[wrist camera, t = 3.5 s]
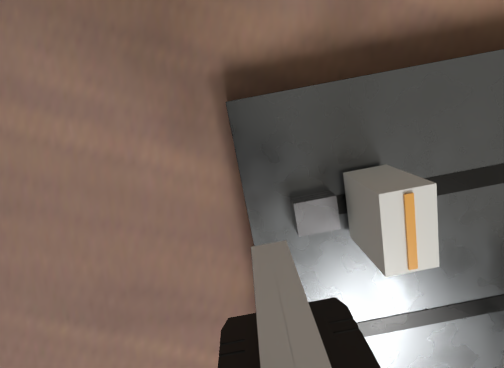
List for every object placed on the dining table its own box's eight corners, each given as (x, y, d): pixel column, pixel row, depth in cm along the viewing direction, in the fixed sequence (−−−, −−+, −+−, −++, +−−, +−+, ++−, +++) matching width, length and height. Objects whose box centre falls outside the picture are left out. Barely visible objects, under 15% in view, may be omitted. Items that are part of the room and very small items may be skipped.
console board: (226, 102, 18) (224, 101, 15) (713, 10, 19) (834, -15, 15) (283, 390, 24) (292, 443, 20) (661, 317, 24) (739, 356, 20)
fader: (342, 172, 17) (379, 195, 13) (386, 164, 17) (438, 184, 13) (350, 236, 18) (386, 278, 14) (391, 229, 18) (441, 268, 14)
